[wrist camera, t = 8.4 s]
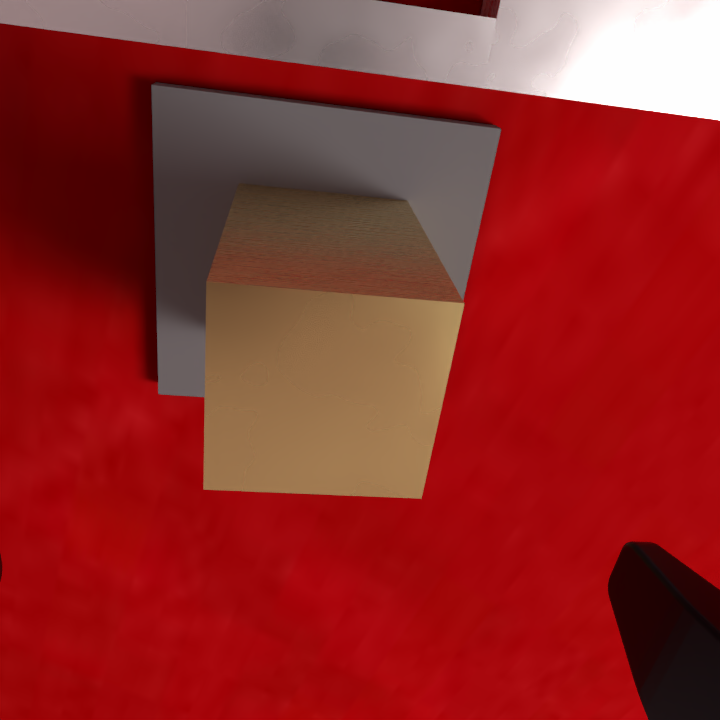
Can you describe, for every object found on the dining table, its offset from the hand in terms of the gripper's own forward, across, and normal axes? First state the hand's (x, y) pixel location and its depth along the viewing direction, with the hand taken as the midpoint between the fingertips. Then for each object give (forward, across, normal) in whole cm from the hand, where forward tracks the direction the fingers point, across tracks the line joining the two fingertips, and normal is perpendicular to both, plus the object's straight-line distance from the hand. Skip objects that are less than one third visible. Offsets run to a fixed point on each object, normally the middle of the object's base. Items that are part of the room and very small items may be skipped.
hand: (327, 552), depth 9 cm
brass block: (+11, 0, 0) cm, 11 cm away
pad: (+11, 0, 0) cm, 11 cm away
